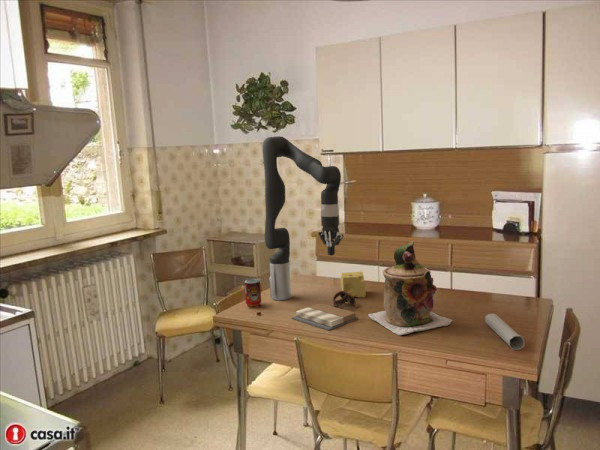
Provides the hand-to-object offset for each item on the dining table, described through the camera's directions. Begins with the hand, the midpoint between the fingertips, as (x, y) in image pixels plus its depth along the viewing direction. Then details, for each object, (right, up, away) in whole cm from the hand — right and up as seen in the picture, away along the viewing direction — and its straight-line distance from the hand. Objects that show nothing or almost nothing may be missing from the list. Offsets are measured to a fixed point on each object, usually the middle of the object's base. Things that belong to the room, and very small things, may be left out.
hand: (331, 255), depth 211 cm
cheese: (+12, -21, +25) cm, 34 cm away
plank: (-5, -26, -8) cm, 27 cm away
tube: (+59, -27, -31) cm, 73 cm away
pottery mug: (+7, -23, +9) cm, 26 cm away
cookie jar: (+30, -26, -13) cm, 42 cm away
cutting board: (-3, -26, -6) cm, 27 cm away
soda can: (-34, -24, +16) cm, 45 cm away
